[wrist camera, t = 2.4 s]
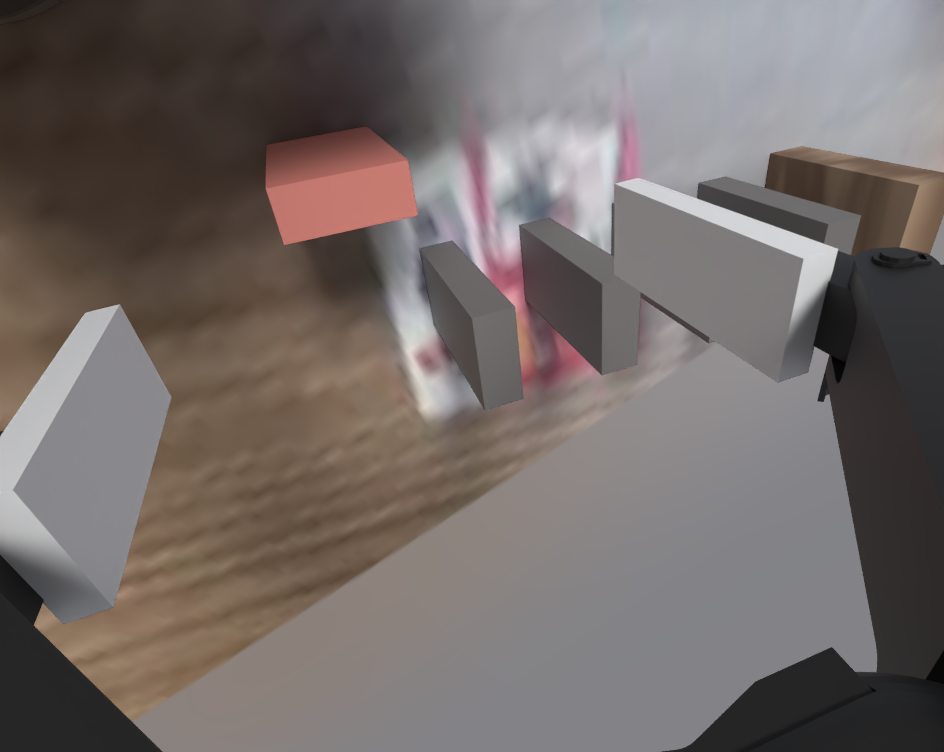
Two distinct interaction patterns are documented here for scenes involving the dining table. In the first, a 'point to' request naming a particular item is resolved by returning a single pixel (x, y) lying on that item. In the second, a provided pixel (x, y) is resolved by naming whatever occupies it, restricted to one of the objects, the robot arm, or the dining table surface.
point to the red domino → (336, 184)
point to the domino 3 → (784, 211)
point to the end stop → (866, 195)
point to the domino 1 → (474, 324)
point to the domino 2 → (580, 294)
